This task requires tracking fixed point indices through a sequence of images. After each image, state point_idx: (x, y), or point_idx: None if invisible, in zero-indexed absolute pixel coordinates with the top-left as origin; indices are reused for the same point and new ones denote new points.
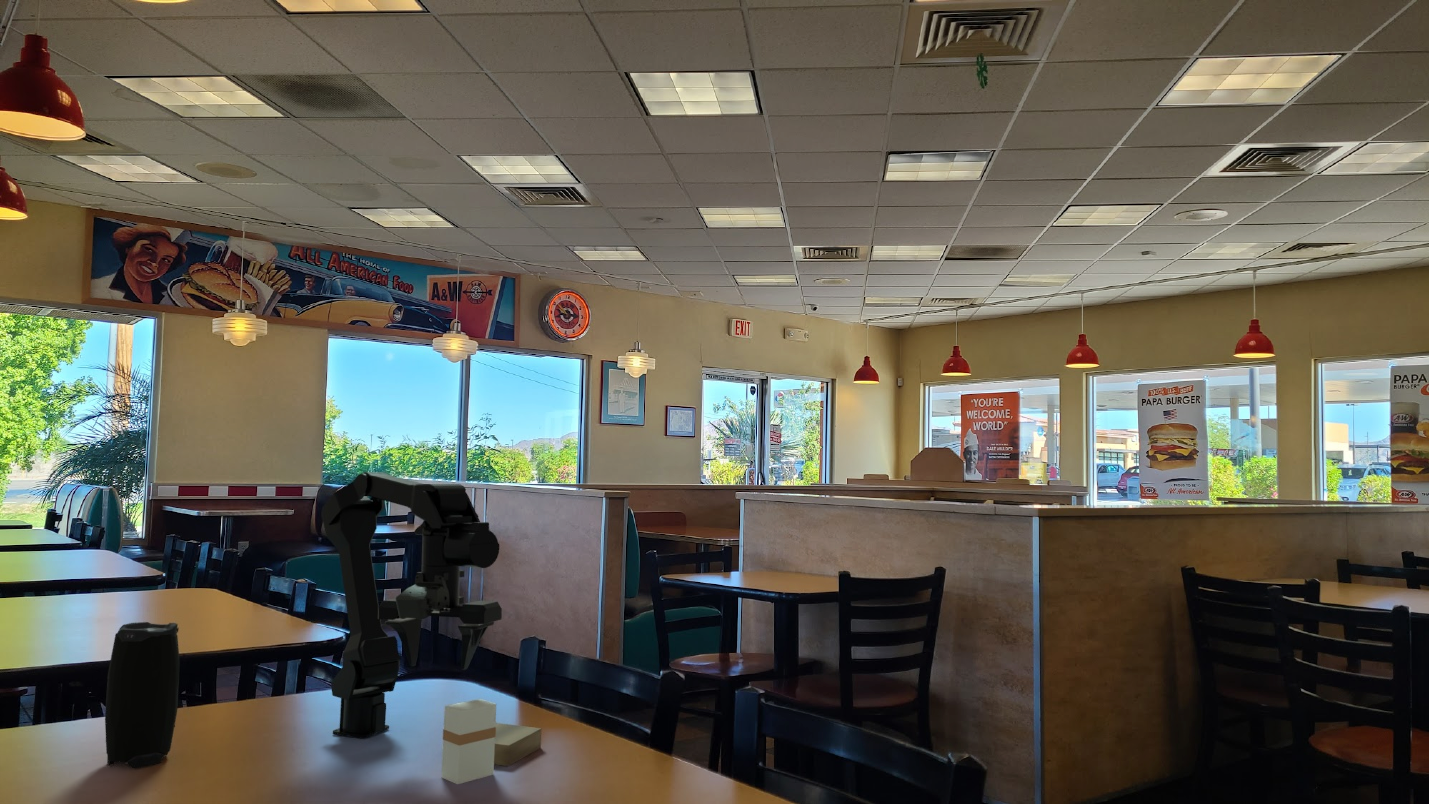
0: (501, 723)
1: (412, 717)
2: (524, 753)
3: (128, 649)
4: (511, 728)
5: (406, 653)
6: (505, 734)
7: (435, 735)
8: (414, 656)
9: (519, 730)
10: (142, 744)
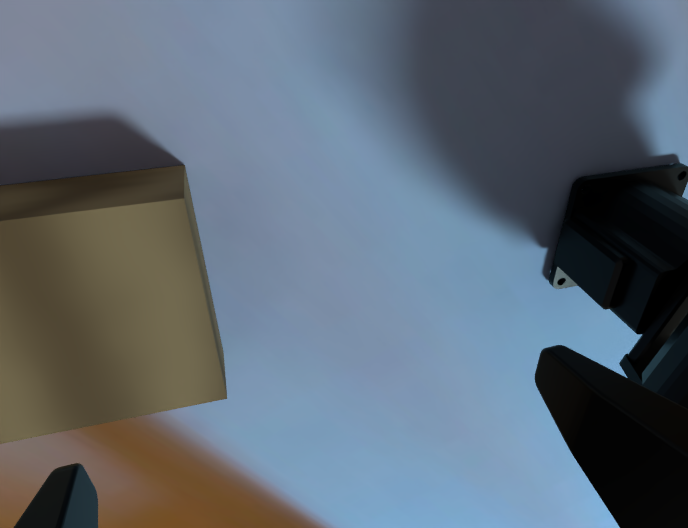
0: (162, 410)
1: None
2: None
3: None
4: (78, 394)
5: (649, 397)
6: (24, 338)
7: (395, 311)
8: (576, 420)
9: (28, 395)
10: None
